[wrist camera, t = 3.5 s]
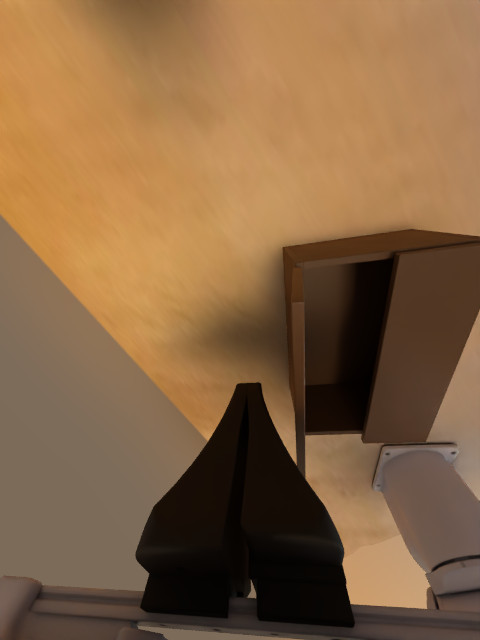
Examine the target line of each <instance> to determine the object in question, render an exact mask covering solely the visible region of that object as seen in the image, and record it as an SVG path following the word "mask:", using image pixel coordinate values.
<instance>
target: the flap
mask: <svg viewBox="0 0 480 640" xmlns="http://www.w3.org/2000/svg"><path fill="white" fill-rule="evenodd" d="M291 318H292V345H293V372H294V399H295V427H296V454H297V467H298V469H299V470H300V472H301V473H302V475H303V476H304V478H305V326H304V291H303V278H302V267H295V268H293V278H292V294H291Z"/></svg>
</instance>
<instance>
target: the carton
mask: <svg viewBox="0 0 480 640" xmlns="http://www.w3.org/2000/svg"><path fill="white" fill-rule="evenodd" d="M283 264H284V284H285V304H286V324H287V344H288V365H289V385H290V391H291V396H292V401H293V406H294V411H295V399H294V372H293V345H292V318H291V294H292V278H293V268H295V267H302V278H303V291H304V326H305V435H335V434H362V437H361V440H362V442H363V443H401V442H426V440H427V437H428V435H429V432H430V430H431V428H432V425H433V423H434V420H435V418H436V415H437V413H438V410H439V408H440V405H441V403H442V401H443V398H444V396H445V393H446V391H447V388H448V386H449V383H450V381H451V378H452V376H453V374H454V371H455V369H456V366H457V364H458V361H459V359H460V356H461V354H462V351H463V349H464V347H465V344H466V342H467V339H468V337H469V334H470V332H471V329H472V327H473V324H474V322H475V320H476V317H477V315H478V312H479V310H480V237H479V236H470V235H461V234H452V233H442V232H433V231H424V230H415V229H410V230H403V231H396V232H389V233H381V234H374V235H367V236H360V237H353V238H345V239H338V240H331V241H324V242H317V243H309V244H302V245H295V246H288V247H283Z"/></svg>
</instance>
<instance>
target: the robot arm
mask: <svg viewBox="0 0 480 640" xmlns="http://www.w3.org/2000/svg"><path fill="white" fill-rule="evenodd" d="M459 449H460V448H459V447H458V446H457V445H455V444H442V445H401V446H384V447H383V448H382V451H381V455H380V459H379V463H378V466H377V470H376V474H375V478H374V481H373V485H372V488H373V490H374V491H382V493H383V496H384V498H385V500H386V502H387V504H388V507H389V509H390V511H391V513H392V516H393V518H394V520H395V522H396V524H397V527H398V529H399V531H400V533H401V535H402V537H403V540H404V542H405V544H406V546H407V548H408V550H409V552H410V554H411V555H412V557H413V558H414V559H415V561H416V562H417V563H418V564H419V566H420V567H421V568H422V569H423V570H424V571H425V572H426V574H425V575H426V577H427V580H428V582H429V584H430V586H431V587H429V588H428V589H427V609H418V608H402V607H386V606H369V605H354V604H350V600H349V596H348V592H347V588H346V578H345V574H344V570H343V566H342V562H343V557H344V548H343V545H342V542H341V539H340V536H339V534H338V532H337V529H336V527H335V525H334V523H333V521H332V519H331V517H330V515H329V513H328V511H327V509H326V507H325V506H324V504H323V503H322V502H321V500H320V499H319V498H318V496H317V495H316V494H315V492H314V491H313V489H312V488H311V487H310V485H309V484H308V482H307V481H306V479H305V478H304V476H303V475H302V473H301V472H300V470H299V469H298V467H297V466H296V464H295V462H294V461H293V459H292V458H291V456H290V454H289V453H288V451H287V449H286V447H285V446H284V444H283V442H282V440H281V438H280V436H279V434H278V432H277V430H276V428H275V426H274V424H273V422H272V420H271V417H270V415H269V412H268V410H267V407H266V404H265V401H264V398H263V394H262V388H261V383H259V382H256V383H240V384H237V385H236V388H235V391H234V394H233V396H232V398H231V401H230V403H229V405H228V407H227V409H226V411H225V413H224V415H223V417H222V419H221V421H220V423H219V424H218V426H217V428H216V430H215V431H214V433H213V435H212V436H211V438H210V439H209V441H208V443H207V444H206V446H205V447H204V448H203V450H202V451H201V452H200V454H199V455H198V457H197V458H196V459H195V461H194V462H193V463H192V465H191V466H190V467H189V468H188V469H187V471H186V472H185V473H184V474H183V475H182V477H181V478H180V479H179V480H178V481H177V483H176V484H175V485H174V486H173V487H172V488H171V489H170V490H169V491H168V492H167V493H166V494H165V495H164V496H163V497H162V499H161V500H160V501H159V502H158V503H157V504H156V505H155V506H154V507H153V510H152V512H151V514H150V516H149V518H148V520H147V523H146V525H145V527H144V530H143V533H142V536H141V539H140V542H139V545H138V547H137V550H136V559H137V561H138V562H139V564H141V566H142V567H143V568H144V569H145V570H146V571H147V572H148V573H149V577H148V581H147V584H146V588H145V591H128V590H111V589H96V588H80V587H63V586H48V585H42V583H41V582H39V581H38V580H35V579H33V578H28V577H16V576H3V577H1V578H0V640H167V639H166V638H165V637H164V636H163V634H160V633H155V632H150V631H145V630H140V629H138V627H137V626H149V627H160V628H172V629H184V630H196V631H208V632H219V633H231V634H243V635H255V636H268V637H279V638H292V639H303V640H480V501H479V500H478V499H477V497H476V496H475V495H474V493H473V492H472V491H471V490H470V488H469V487H468V486H467V484H466V483H465V482H464V481H463V479H462V478H461V477H460V475H459V474H458V473H457V472H456V470H455V469H454V468H453V466H452V463H453V461H454V459H455V457H456V455H457V454H458V452H459ZM251 580H252V583H253V586H254V588H255V591H256V599H255V598H247V597H248V595H249V593H250V591H251Z"/></svg>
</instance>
